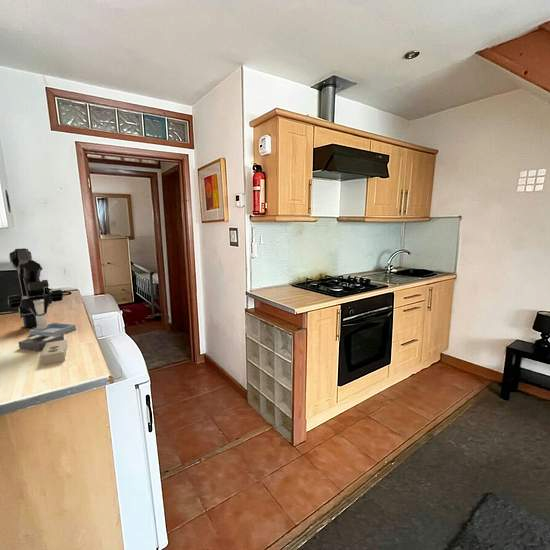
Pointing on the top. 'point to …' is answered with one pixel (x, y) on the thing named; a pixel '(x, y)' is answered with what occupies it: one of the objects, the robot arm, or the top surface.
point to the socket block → (39, 341)
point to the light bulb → (40, 313)
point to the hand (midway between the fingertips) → (40, 314)
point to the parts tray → (54, 329)
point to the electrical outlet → (54, 352)
